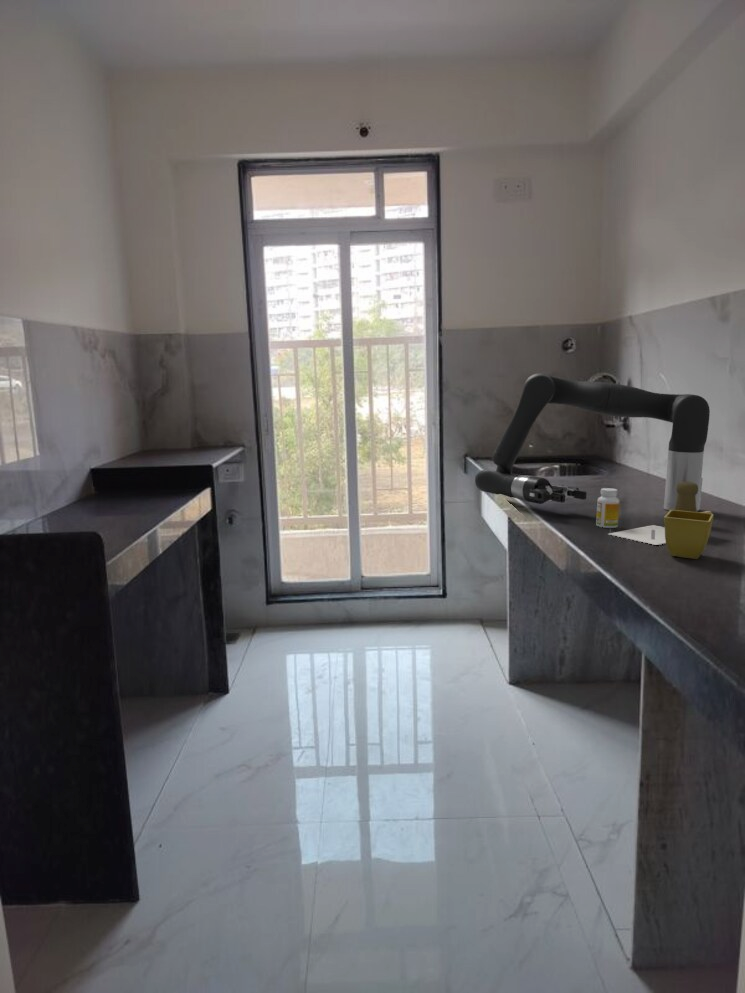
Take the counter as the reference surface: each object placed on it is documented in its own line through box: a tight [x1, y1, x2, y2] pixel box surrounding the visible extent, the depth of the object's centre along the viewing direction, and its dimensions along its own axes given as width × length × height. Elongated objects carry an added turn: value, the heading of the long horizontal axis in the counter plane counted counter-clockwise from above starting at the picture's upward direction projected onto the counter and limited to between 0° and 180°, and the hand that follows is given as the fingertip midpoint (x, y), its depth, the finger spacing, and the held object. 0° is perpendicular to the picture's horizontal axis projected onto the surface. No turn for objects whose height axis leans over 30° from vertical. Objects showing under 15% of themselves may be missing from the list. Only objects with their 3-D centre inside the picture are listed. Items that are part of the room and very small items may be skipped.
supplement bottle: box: [595, 487, 620, 529], centre depth 169 cm, size 5×5×10 cm
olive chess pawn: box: [675, 482, 698, 512], centre depth 172 cm, size 6×6×11 cm
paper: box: [607, 524, 666, 546], centre depth 160 cm, size 18×13×1 cm
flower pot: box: [663, 510, 715, 560], centre depth 141 cm, size 9×9×9 cm
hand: (575, 497), depth 178 cm, fingers open, 8 cm apart
